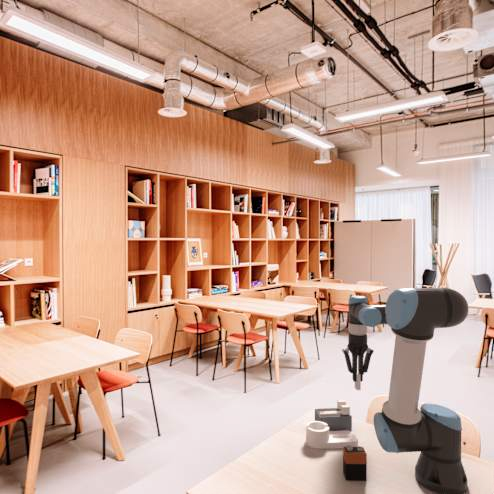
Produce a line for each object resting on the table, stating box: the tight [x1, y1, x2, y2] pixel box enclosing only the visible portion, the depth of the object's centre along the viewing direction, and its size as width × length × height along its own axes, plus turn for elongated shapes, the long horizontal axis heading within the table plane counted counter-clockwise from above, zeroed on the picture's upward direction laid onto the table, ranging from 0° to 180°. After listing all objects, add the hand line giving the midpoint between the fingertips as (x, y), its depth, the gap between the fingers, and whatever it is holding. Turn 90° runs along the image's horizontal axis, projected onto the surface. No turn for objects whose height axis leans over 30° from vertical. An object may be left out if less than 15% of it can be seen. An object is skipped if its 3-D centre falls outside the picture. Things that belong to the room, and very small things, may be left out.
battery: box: [342, 445, 368, 482], centre depth 127 cm, size 4×7×10 cm, turn 88°
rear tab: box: [336, 399, 347, 409], centre depth 161 cm, size 2×3×3 cm, turn 95°
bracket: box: [305, 420, 359, 450], centre depth 149 cm, size 20×9×7 cm, turn 95°
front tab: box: [341, 404, 351, 415], centre depth 156 cm, size 2×3×3 cm, turn 95°
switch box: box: [314, 407, 353, 432], centre depth 159 cm, size 8×13×7 cm, turn 94°
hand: (357, 388), depth 162 cm, fingers closed
